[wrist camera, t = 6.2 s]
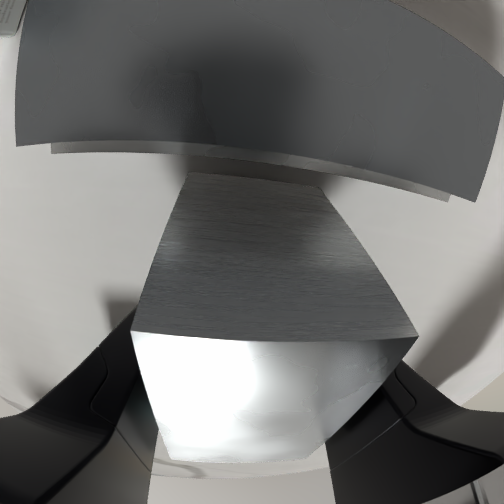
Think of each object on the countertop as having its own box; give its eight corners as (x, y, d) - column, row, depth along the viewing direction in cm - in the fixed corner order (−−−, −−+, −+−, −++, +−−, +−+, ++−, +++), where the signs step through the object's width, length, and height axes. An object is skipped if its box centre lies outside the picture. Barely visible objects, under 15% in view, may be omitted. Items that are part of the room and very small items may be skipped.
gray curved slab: (438, 179, 9) (495, 219, 7) (46, 131, 7) (-18, 162, 4) (462, 84, 7) (528, 101, 4) (56, 19, 5) (-9, 9, 2)
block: (280, 322, 12) (305, 458, 7) (184, 316, 11) (170, 459, 6) (318, 187, 9) (419, 335, 4) (188, 172, 8) (130, 331, 3)
